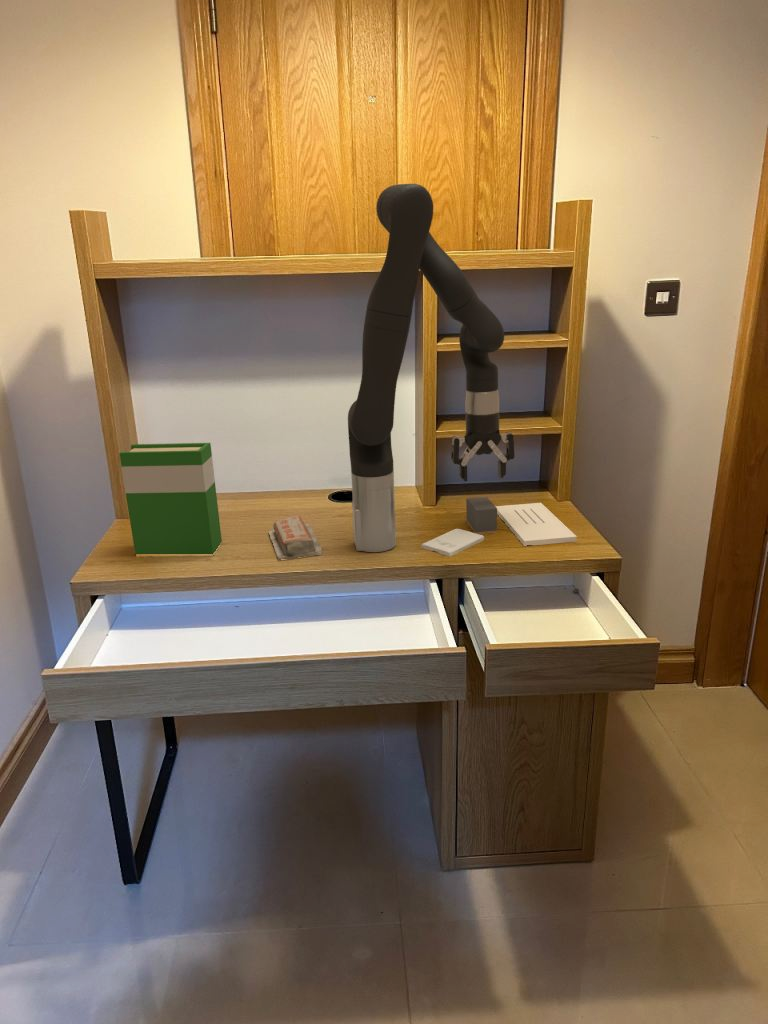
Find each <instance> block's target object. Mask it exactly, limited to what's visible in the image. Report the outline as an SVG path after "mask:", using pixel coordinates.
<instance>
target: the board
mask: <svg viewBox="0 0 768 1024" xmlns="http://www.w3.org/2000/svg"><path fill="white" fill-rule="evenodd" d="M494 506H495V507H496V508H497V514H498V515H499V516H498V515H497V516H498V517H499V518H500V519H501V521H502V520H503V521H504V522H505V523H504V522H503V521H502V522H503V523H504V524H505V526H506V527H509V528H508V529H509V530H510V532H512V533H513V535H514V534H515V535H514V536H515V537H516V538H517V540H520V541H519V542H520V543H521V544H522V545H523V547H528V546H527V545H532V546H541V545H553V544H564V543H575V542H576V543H577V542H578V541H577V539H578V536H577V535H576V534H575V533H574V532H573V531H571V529H570V528H568V527H567V526H566V525H565V524H564V523H563V521H561V520H560V519H559V518H558V517H556V516H555V514H554V513H552V512H551V511H550V509H548V508H547V507H546V506H545V505H544V504H543V503H542V502H534V503H520V504H509V505H508V504H507V505H497V506H496V505H494Z"/></svg>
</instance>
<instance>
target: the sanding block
mask: <svg viewBox="0 0 768 1024" xmlns="http://www.w3.org/2000/svg"><path fill="white" fill-rule="evenodd" d="M465 499H466V501H465V502H466V514H465V515H466V523H467V524H468V525H469V527H470V528H471V530H472V531H473V533H476V534H479V535H485V533H486V534H496V533H495V532H497V531H498V515H497V508H496V507H495V506H496V505H495V504H494V503H493V502H492V501H491V499H490V498H489V497H488V496H478V497H477V496H475V497H466V498H465Z"/></svg>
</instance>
